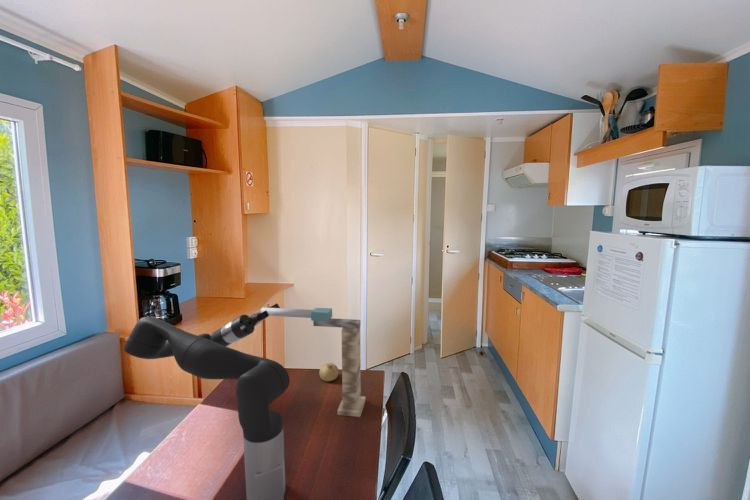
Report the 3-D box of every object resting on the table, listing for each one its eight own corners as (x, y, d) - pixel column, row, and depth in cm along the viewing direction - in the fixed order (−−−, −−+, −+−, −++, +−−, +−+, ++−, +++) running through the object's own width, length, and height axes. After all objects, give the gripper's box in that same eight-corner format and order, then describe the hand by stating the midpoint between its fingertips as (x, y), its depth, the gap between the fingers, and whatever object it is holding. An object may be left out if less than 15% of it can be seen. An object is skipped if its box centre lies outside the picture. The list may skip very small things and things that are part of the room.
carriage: (332, 316, 119) (332, 308, 118) (328, 321, 114) (328, 312, 114) (266, 313, 123) (265, 305, 122) (259, 317, 118) (259, 309, 117)
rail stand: (365, 400, 124) (365, 316, 120) (360, 417, 114) (359, 326, 110) (321, 396, 126) (319, 314, 122) (312, 412, 116) (309, 323, 112)
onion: (315, 379, 139) (315, 363, 138) (329, 372, 145) (329, 356, 144) (328, 386, 134) (328, 369, 133) (342, 378, 140) (342, 362, 139)
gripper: (220, 327, 115) (257, 306, 112) (243, 314, 129) (276, 295, 126) (232, 345, 116) (269, 325, 112) (253, 330, 129) (286, 312, 126)
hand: (273, 309), depth 119 cm, fingers open, 8 cm apart
